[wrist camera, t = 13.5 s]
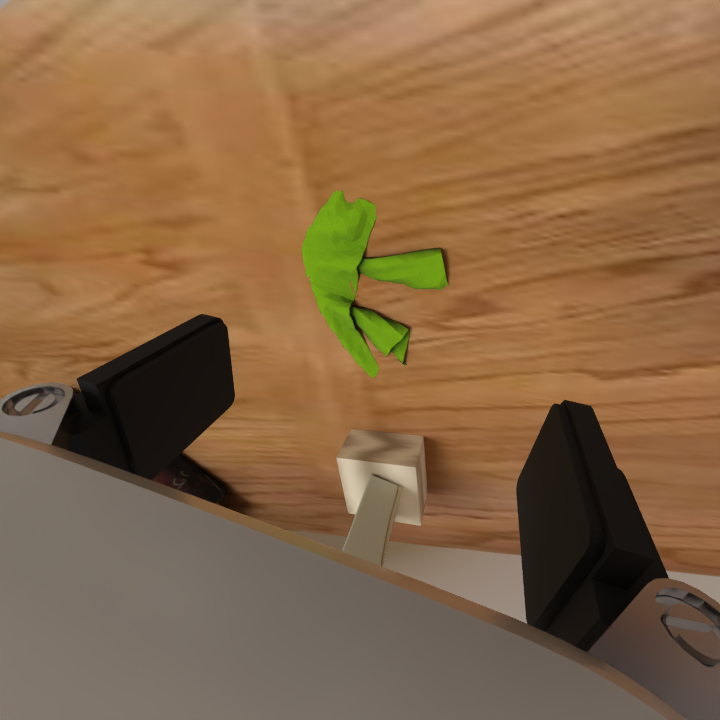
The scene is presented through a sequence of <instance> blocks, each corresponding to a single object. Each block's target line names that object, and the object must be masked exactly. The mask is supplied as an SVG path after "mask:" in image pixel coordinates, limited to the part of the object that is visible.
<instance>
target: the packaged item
mask: <svg viewBox="0 0 720 720" xmlns="http://www.w3.org/2000/svg"><path fill="white" fill-rule="evenodd" d="M74 394H75V395H76V394H77V393H76V392H74ZM152 481H154V482H157V483H160V484H163V485H165V486H168V487H171V488H173V489H176V490H179V491H182V492H184V493H187V494H190V495H192V496H195V497H198V498H201V499H203V500H206V501H209V502H211V503H214V504H217V505H219V506H221V505H220V504H219V502H220V501H221V499H222V498H223V495H224V494H225V492H226V490H227V489H226V488H225V487H224V486H222V485H221V484H220V483H218V482H217V481H215V480H214V479H212V478H210V477H209V476H207V475H206V474H204V473H203V472H201V470H200V469H199V468H198V467H197V466H196V465H195V464H193V463H192V462H190V461H188V460H187V459H185V458H184V457H182V456H181V455H180V454H179V455H178V456H177V457H176V458H175V459H174V460H173V461H172V462H171V463H170V464H169V465H168V466H166V467H165V468H164V469H163V470H162V471H161V472H160V473H159V474H158V475H157V476H156V477H155V478H154V479H152ZM222 507H223V506H222Z"/></svg>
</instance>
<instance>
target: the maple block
mask: <svg viewBox="0 0 720 720" xmlns="http://www.w3.org/2000/svg"><path fill="white" fill-rule="evenodd" d="M337 462H338V467H339V472H340V476H341V481H342V486H343V490H344V495H345V500H346V504H347V509H348V513H350V514H356V512H357V509H358V507H359V504H360V501H361V499H362V496H363V493H364V491H365V488H366V485H367V483H368V480H369V478H370V476H371V475H373V476H375V477H378V478H380V479H383V480H385V481H388V482H390V483H393V484H395V485H397V486H400V487H402V493H401V497H400V501H399V505H398V509H397V512H396V516H395V520H394V521H396V522H401V523H407V524H413V525H418V526H421V523H422V517H423V512H424V507H425V502H426V496H427V479H426V465H425V452H424V438H423V436H419V435H408V434H398V433H387V432H376V431H366V430H355V429H351V431H350V433H349V435H348V437H347V439H346V440H345V442H344V444H343V446H342V448H341V450H340V452H339V454H338V456H337Z"/></svg>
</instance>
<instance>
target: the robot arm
mask: <svg viewBox="0 0 720 720" xmlns="http://www.w3.org/2000/svg"><path fill="white" fill-rule="evenodd" d="M77 381H78V384H79V386H80V389H81V392H80V393H78V394H76V395H75V394H74V391H73V390H72V388H71V387H70V386H68V385H66V384H62V383H43V384H37V385H32V386H29V387H25V388H22V389H19V390H17V391H15V392H12V393H10V394H8V395H7V396H5V397H4V398H2V399H0V720H720V604H719V603H718V602H716V601H715V600H714V599H712V598H710V597H709V596H708V595H706V594H705V593H703V592H702V591H700V590H698V589H696V588H694V587H692V586H690V585H688V584H686V583H684V582H681V581H677V580H673V579H669V578H668V575H667V573H666V570H665V568H664V566H663V563H662V561H661V559H660V556H659V554H658V552H657V549H656V547H655V545H654V542H653V540H652V538H651V535H650V533H649V531H648V528H647V526H646V524H645V521H644V519H643V517H642V514H641V512H640V510H639V507H638V505H637V503H636V500H635V498H634V496H633V493H632V491H631V489H630V486H629V484H628V482H627V479H626V477H625V475H624V474H623V472H622V471H621V470H620V469H618V468H617V466H616V463H615V461H614V459H613V456H612V454H611V451H610V449H609V447H608V444H607V442H606V439H605V437H604V434H603V432H602V430H601V427H600V425H599V422H598V420H597V418H596V415H595V413H594V410H593V408H592V407H591V406H589V405H584V404H580V403H576V402H572V401H568V400H564V401H563V402H562V403H561V404H560V405H559V404H553V405H552V407H551V409H550V411H549V413H548V415H547V417H546V420H545V422H544V424H543V426H542V428H541V430H540V433H539V435H538V437H537V439H536V441H535V444H534V446H533V448H532V450H531V452H530V454H529V457H528V459H527V461H526V463H525V465H524V467H523V470H522V472H521V474H520V476H519V479H518V482H517V489H516V493H517V506H518V519H519V531H520V544H521V557H522V570H523V583H524V596H525V608H526V619H527V624H526V623H524V622H521V621H519V620H517V619H514V618H512V617H510V616H507V615H505V614H502V613H500V612H497V611H494V610H492V609H489V608H487V607H485V606H482V605H480V604H477V603H474V602H472V601H469V600H467V599H464V598H462V597H459V596H457V595H454V594H452V593H449V592H447V591H444V590H442V589H439V588H436V587H434V586H432V585H429V584H427V583H424V582H421V581H419V580H416V579H413V578H411V577H408V576H405V575H403V574H400V573H398V572H395V571H392V570H389V569H387V568H384V567H382V566H379V565H377V564H374V563H371V562H369V561H366V560H363V559H361V558H358V557H355V556H353V555H350V554H347V553H345V552H342V551H339V550H337V549H334V548H331V547H329V546H326V545H324V544H321V543H318V542H316V541H313V540H311V539H308V538H305V537H302V536H300V535H297V534H294V533H292V532H289V531H286V530H284V529H281V528H278V527H276V526H273V525H270V524H268V523H265V522H262V521H260V520H257V519H254V518H252V517H249V516H246V515H244V514H241V513H238V512H236V511H233V510H230V509H227V508H225V507H222V506H219V505H217V504H214V503H211V502H209V501H206V500H203V499H201V498H198V497H195V496H192V495H190V494H187V493H184V492H182V491H179V490H176V489H173V488H171V487H168V486H165V485H163V484H160V483H157V482H154V481H152V479H154V478H155V477H156V476H157V475H158V474H159V473H160V472H161V471H162V470H163V469H164V468H165V467H166V466H168V465H169V464H170V463H171V462H172V461H173V460H174V459H175V458H176V457H177V456H178V455H179V454H180V453H181V452H182V451H184V450H185V449H186V448H187V447H188V446H189V445H190V444H191V443H192V442H193V441H194V440H195V439H196V438H197V437H198V436H200V435H201V434H202V433H203V432H204V431H205V430H206V429H207V428H208V427H209V426H210V425H211V424H212V423H213V422H215V421H216V420H217V419H218V418H219V417H220V416H221V415H222V414H223V413H224V412H225V411H226V410H227V409H228V408H229V407H230V406H231V405H232V404H233V402H234V398H235V392H234V383H233V374H232V365H231V356H230V347H229V338H228V329H227V326H226V325H225V324H224V323H223V321H222V319H220V318H217V317H213V316H209V315H204V314H201V315H198V316H196V317H194V318H192V319H190V320H188V321H187V322H185V323H183V324H181V325H179V326H177V327H175V328H173V329H171V330H169V331H167V332H165V333H164V334H162V335H160V336H158V337H156V338H154V339H152V340H150V341H148V342H146V343H144V344H142V345H141V346H139V347H137V348H135V349H133V350H131V351H129V352H127V353H125V354H123V355H121V356H119V357H118V358H116V359H114V360H112V361H110V362H108V363H106V364H104V365H102V366H100V367H98V368H97V369H95V370H93V371H91V372H89V373H87V374H85V375H83V376H81V377H79V378H77Z"/></svg>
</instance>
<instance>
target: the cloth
mask: <svg viewBox="0 0 720 720" xmlns="http://www.w3.org/2000/svg"><path fill="white" fill-rule="evenodd" d="M376 218H377V217H376V215H375V204H373V203H371V202H369V201H367V200H364V199H361V198H359V199H358V200H357V201H355V202H354V203H353V204H351V203H349V202H347V201H345V198H344V194H343V191H334V192H333V194H332V196H331V197H330V199H329V200H328V202H327V203H326V204H325V205H324V206H323V207H322V208H321V210H320V212H319V214H318V215H317V216H316V218H315V220H314V223H313V224H312V225H311V226H310V228H309V229H308V231H307V233H306V238H305V240H304V242H303V247H302V255H303V262H304V266H305V267H306V277H310V282H311V284H312V286H311V288H312V291H313V292H314V296H315V298H316V302H317V304H318V307H319V310H320V312H321V313H322V315H323V316H324V317H325V319H326V321H327V323H328V325H329V326H330V328H331V329H332V330H333V331H334V332H335V333H336V334H337V336H338V339H339V340H340V342H341V344H342V345H343V346H344V347H345V349H346V350H348V351H349V353H350V354H351V355H352V356H353V358H354V359H355V361H356V362H357V363H358V364H359V365H360V366H361V367H362V368H363V369H364V370H365V371H366V372H367V373H368V374H369V375H370V376H371V377H372V378H374V377H375V376H376V375H377V373H378V365H377V363H376V361H375V360H374V358H373V356H372V354H371V352H370V350H369V348H368V346H367V344H366V342H365V340H364V339H363V337H362V336H361V334H360V333H359V331H357V330H356V329H355V326H354V324H355V325H356V326H357V327H359V328H360V329H361V330H362V331H363V332H364V333H365V334H366V336H367V337H368V338H369V340H370V341H371V342H372V343H373V345H374V346H375V347H376V348H377V349H378V350H380V351H381V352H382V353H383V354H384V355H386V356H387V355H388V353H389V352H390V350H391V351H392V352H393V353H394V355H395V356H396V357H397V359H398V360H399V361H400V362H401V363H402V364H404V365H407V364H406V363H405V362H404V356H405V353H406V349H407V344H408V340H409V334H410V330H408V329H407V328H405V327H404V326H402V325H401V324H399V323H397V322H395V321H393V320H391V319H387V318H383V317H380V316H379V315H377V314H376V313H375V312H373V311H372V310H370V309H367V308H364V307H359V306H351V304H352V303H353V302H354V299H355V294H356V291H357V283H358V279H359V275H358V273H361V274H363V275H366V276H368V277H370V278H373V279H375V280H378V281H387V282H392V283H400V284H402V283H403V284H405V285H407V286H409V287H412V288H414V289H439V290H442V289H443V288H444V287H445V286H449V285H448V283H447V279H446V274H445V269H444V264H443V259H442V254H441V248H435V249H427V250H421V251H416V252H411V253H406V254H401V255H395V256H389V257H365V258H362V257H363V254H364V252H365V250H366V248H367V243H368V238H369V234H370V232H371V230H372V228H373V225H374V222H375V220H376ZM322 277H324V278H325V279H324V278H322ZM350 281H351V283H352V286H353V288H354V291H355V294H353V291H352V289H351V286H350V284H349V282H350Z"/></svg>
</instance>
